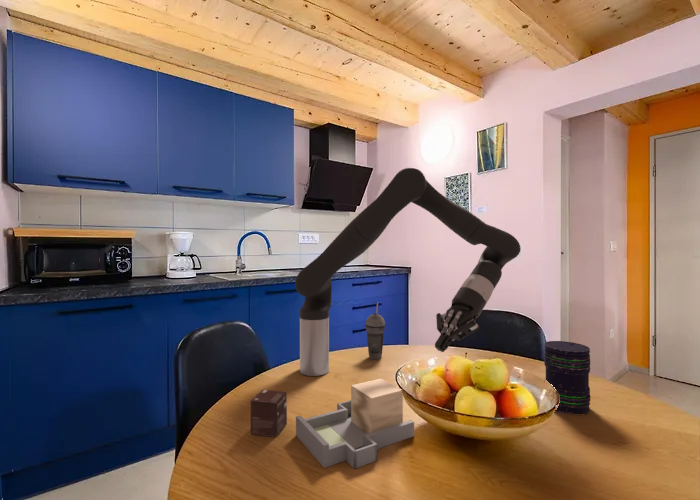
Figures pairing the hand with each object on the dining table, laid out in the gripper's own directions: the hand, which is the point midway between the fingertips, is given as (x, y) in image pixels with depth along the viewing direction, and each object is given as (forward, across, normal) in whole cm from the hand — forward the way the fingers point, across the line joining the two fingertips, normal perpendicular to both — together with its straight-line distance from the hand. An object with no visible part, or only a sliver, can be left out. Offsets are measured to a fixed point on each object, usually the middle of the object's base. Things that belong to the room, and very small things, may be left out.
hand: (438, 349), depth 87 cm
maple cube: (+23, 0, -4) cm, 23 cm away
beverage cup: (+3, -42, +18) cm, 46 cm away
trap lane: (+27, 0, -6) cm, 28 cm away
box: (+38, -12, -17) cm, 43 cm away
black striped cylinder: (-10, +15, +31) cm, 35 cm away
